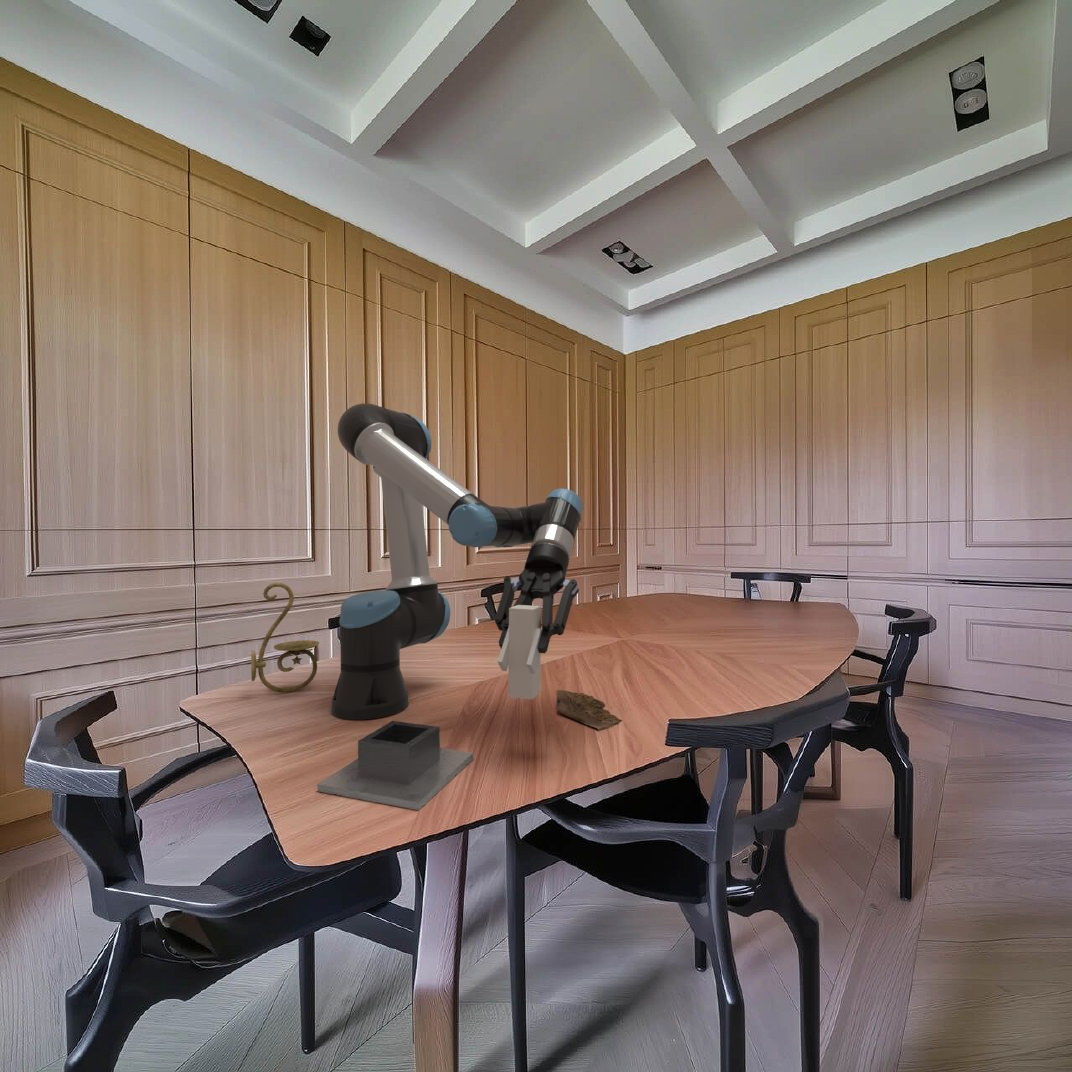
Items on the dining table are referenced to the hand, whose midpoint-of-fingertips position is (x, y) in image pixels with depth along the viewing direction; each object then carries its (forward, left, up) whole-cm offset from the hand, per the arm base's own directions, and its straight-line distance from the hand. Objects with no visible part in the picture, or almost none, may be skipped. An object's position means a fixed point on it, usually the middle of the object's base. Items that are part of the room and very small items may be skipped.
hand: (516, 667), depth 79 cm
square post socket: (-15, -8, -15) cm, 23 cm away
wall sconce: (-63, +19, -15) cm, 68 cm away
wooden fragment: (+3, +29, -15) cm, 33 cm away
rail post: (0, +4, -5) cm, 6 cm away
